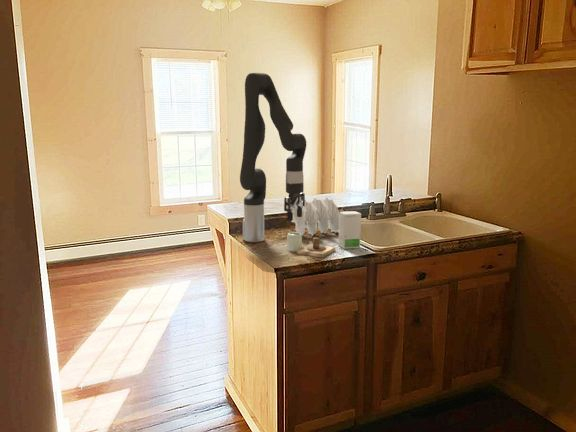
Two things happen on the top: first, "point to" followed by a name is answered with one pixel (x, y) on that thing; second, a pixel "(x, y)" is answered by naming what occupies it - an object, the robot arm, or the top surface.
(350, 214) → the skincare box
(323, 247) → the post
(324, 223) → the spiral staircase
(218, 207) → the top surface
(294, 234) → the pale green cylinder
